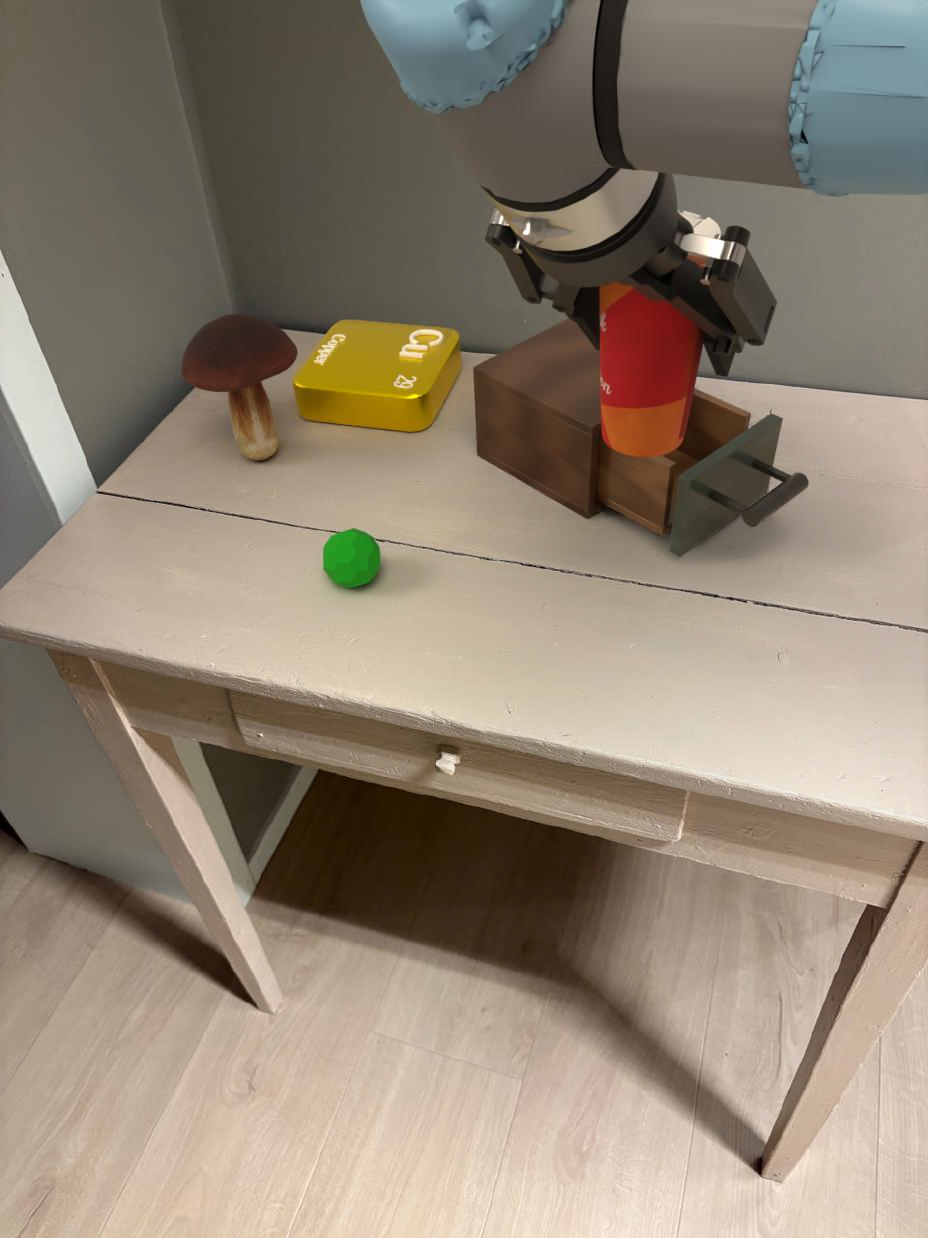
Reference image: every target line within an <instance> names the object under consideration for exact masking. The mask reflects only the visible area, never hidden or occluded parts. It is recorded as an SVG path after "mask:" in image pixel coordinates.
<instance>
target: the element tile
mask: <svg viewBox="0 0 928 1238" xmlns="http://www.w3.org/2000/svg"><path fill="white" fill-rule="evenodd" d="M461 351H462V350H461V336H460V334H459V332H458V331H457V330H456V329H453V328H449V327H441V326H430V325H419V324H418V325H416V324H407V323H396V322H385V321H384V322H383V321H372V320H362V319H341V320H339V321H338V322H336V323H335V324H333V325H332V326H331V327H330V328H329V329H328V331H327V332H326V333H325V334H324V336H323V337H322V338H321V340H320V341H319V342H318V343H317V345H316V346H315V347H314V349H313V350H312V351H311V353H310V354H309V355H308V356H307V358H306V359H305V361H304V362H303V363H302V364H301V365H300V367H299V368H298V369H297V371H296V372H295V373H294V374H293V377H292V389H293V393H294V397H295V403H296V407H297V412H298V414H299V416H300V417H301V418H302V419H304V420H307V421H311V422H317V423H326V424H328V423H329V424H334V425H335V424H336V425H344V426H353V427H362V428H370V429H371V428H372V429H379V430H386V431H387V430H389V431H397V432H403V433H404V432H405V433H416V432H421V431H424V430H426V429H428V428H429V427H430V426H431V425H432V424H433V423H434V420H435V419H436V417H437V415H438V414H439V411H440V409H441V408H442V407H443V404H444V402H445V400H446V399H447V397H448V395H449V393H450V391H451V389H452V387H453V386H454V384H455V382H456V380H457V379H458V376H459V374H460V372H461V370H462V353H461Z"/></svg>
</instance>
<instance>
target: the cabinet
mask: <svg viewBox="0 0 928 1238" xmlns="http://www.w3.org/2000/svg"><path fill="white" fill-rule="evenodd" d="M472 374H473V395H474V417H475V419H474V420H475V435H476V436H475V437H476V439H475V440H476V456H477V457H479V458H481V459H483V460H485V461H486V462H488V463H489V464H491V465H493V466H495V467H496V468H497V469H500V470H502V471H503V472H505V473H506V474H508V475H510V476H512V477H514V478H515V479H517V480H518V481H521V482H522V483H524V484H525V485H528V486H530V487H531V488H533V489H534V490H536V491H538V492H540V493H542V494H543V495H545V496H547V497H548V498H550V499H552V500H554V501H555V502H557V503H559V504H561V505H562V506H563V507H565V508H567V509H569V510H571V511H573V512H574V513H576V514H578V515H579V516H581V517H583V518H584V519H587V520H589V519H591V518H592V517H593V516H595V515H597V514H599V513H600V512H601V511H603V510H605V509H606V508H607V507H608V506H607V505H605V504H603V503H602V502H600V501H598V500H596V499H595V493H596V475H597V457H598V439H599V432H600V431H601V430H602V426H601V388H600V351H598V350H596V349H595V347H594V346H593V345H592V343H591V342H590V341H589V339H588V338H587V337H586V335H585V334H584V333H583V331H582V330H581V328H580V327H579V326H578V324H577V323H576V322H574V321H572V320H571V319H569V318H568V317H567V318H566V319H564V320H562V321H560V322H558V323H556V324H554V325H552V326H550V327H548V328H547V329H545V330H542V331H540V332H538V333H536V334H535V335H533V336H530V337H529V338H527V339H525V340H523V341H521V342H519V343H517V344H515V345H513V346H511V347H509V348H507V349H506V350H504V351H501V352H499V353H498V354H496V355H494V356H491V357H490V358H487V359H486V360H484V361H482V362H480V363H478V364H476V365H474V366H472Z"/></svg>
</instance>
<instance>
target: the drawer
mask: <svg viewBox="0 0 928 1238" xmlns="http://www.w3.org/2000/svg"><path fill="white" fill-rule="evenodd" d="M751 417H752V413H751V412H750V411H747V410H745V409H742V408H740V407H738V406H736V405H734V404H731V403H730V402H727V401H725V400H722V399H720V398H718V397H716V396H714V395H711V394H709V393H706V392H704V391H702V390H700V389H697V388H696V387H695V388H694V393H693V398H692V403H691V408H690V413H689V418H688V422H687V427H686V431H685V435H684V438H683V441H682V443H681V444H680V446H679V447H678V448H676V449H675V450H673V451H671V452H669V453H667V454H664V455H660V456H655V457H635V456H630V455H626V454H623V453H620V452H618V451H616V450H614V449H612V448H611V447H610V446H608V445H607V444H606V442H605V441H604V439H603V436H602V430H601V431H600V432H599V439H598V457H597V475H596V493H595V499H596V500H598V501H600V502H602V503H603V504H605V505H607V507H609V508H611V509H612V510H614V511H616V512H618V513H620V514H621V515H623V516H625V517H627V518H629V519H630V520H632V521H634V522H635V523H638V524H639V525H641V526H642V527H644V528H646V529H648V530H650V531H652V532H653V533H654V534H657V535H658V536H661V537H663V536H664V535H666V534H668V533H669V532H670V537H669V538H670V540H669V545H668V546H669V548H668V552H670V553H671V554H673V555H675V556H676V557H678V558H681V557H682V556H684V555H685V554H687V553H688V552H690V550H692V549H693V548H694V547H696V546H697V545H699V544H700V543H701V542H703V541H705V540H706V539H707V538H708V537H709V536H711V535H712V534H714V533H715V532H717V531H718V530H719V529H720V528H722V527H723V526H725V525H726V524H727V523H728V522H730V521H731V520H732V519H734V518H735V517H737V516H739V515H741V518H742V521H743V522H744V523H745V524H746V525H747V526H748V527H750V528H756V527H758V526H759V525H760V524H762V523H763V522H764V521H766V520H767V519H768V518H770V517H771V516H772V515H773V514H775V513H776V512H778V511H779V510H780V509H782V508H783V507H784V506H786V505H787V504H788V503H789V502H791V501H792V500H793V499H795V498H796V497H798V495H800V494H802V493H803V492H804V491H805V490H806V489H808V487H809V484H810V483H809V478H808V476H807V475H806V474H804V473H802V472H795V473H793V474H789V473H787V472H786V471H783V470H781V469H779V468H777V467H774V463H775V460H776V459H775V457H776V453H777V449H778V443H779V441H780V440H779V439H780V435H781V431H782V430H781V429H782V426H783V420H784V419H783V417H782V416H779V415H776V414H775V413H770V414H768V415H767V416H765V417H764V418H762V419H761V420H759V421H758V422H756V423H755V424H753V425H752V426H750V423H751ZM771 478H773V479H775V480H777V481H779V482H781V483H779V484H778V485H777V486H775V487H774V488H772V489H771V490H769V486H770V482H771Z"/></svg>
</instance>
